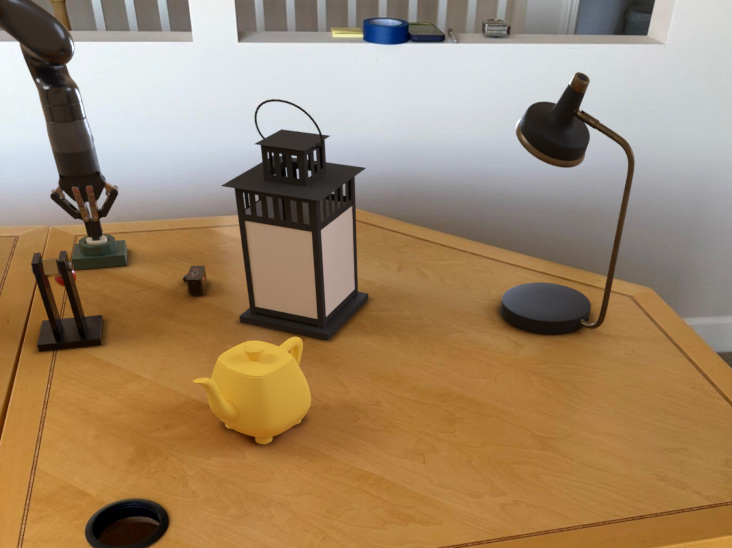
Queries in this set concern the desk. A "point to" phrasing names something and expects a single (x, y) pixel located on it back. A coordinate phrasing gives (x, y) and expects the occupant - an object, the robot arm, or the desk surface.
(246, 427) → the teapot
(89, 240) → the button
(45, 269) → the switch lever
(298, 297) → the lantern
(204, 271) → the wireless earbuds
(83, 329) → the switch bracket
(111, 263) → the lamp box
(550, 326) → the lamp
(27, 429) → the desk surface
